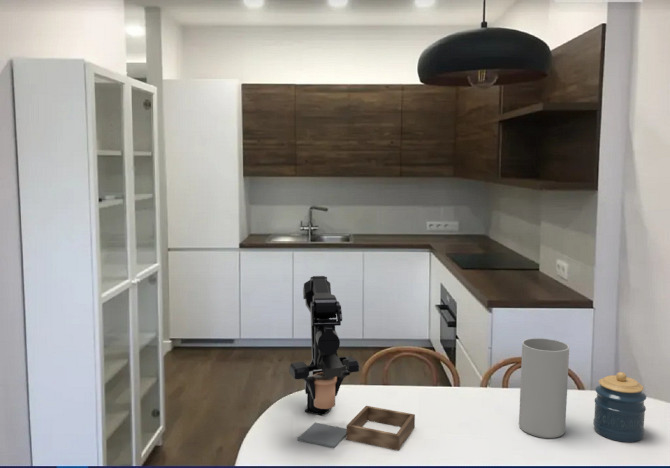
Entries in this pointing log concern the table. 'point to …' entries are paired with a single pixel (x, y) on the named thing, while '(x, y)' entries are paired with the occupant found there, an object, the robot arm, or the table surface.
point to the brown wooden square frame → (376, 436)
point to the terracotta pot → (324, 391)
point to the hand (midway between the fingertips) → (324, 397)
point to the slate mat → (323, 435)
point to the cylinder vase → (543, 387)
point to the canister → (619, 408)
